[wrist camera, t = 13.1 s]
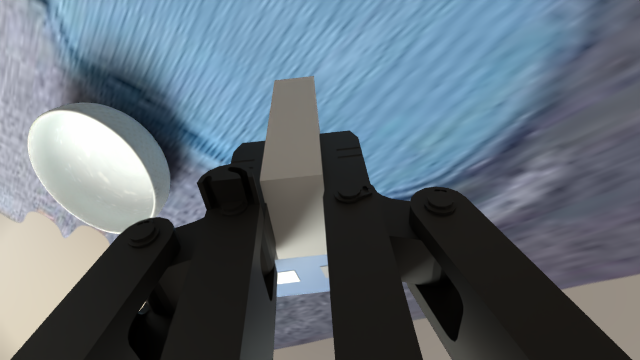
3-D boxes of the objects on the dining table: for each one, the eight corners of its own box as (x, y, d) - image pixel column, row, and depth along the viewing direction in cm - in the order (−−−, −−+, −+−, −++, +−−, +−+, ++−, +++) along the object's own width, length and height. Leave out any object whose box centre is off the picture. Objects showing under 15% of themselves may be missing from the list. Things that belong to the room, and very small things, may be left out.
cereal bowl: (176, 222, 54) (144, 255, 48) (74, 169, 53) (30, 196, 48) (199, 130, 44) (164, 157, 38) (75, 64, 44) (20, 82, 38)
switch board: (329, 177, 43) (326, 185, 41) (376, 277, 49) (374, 286, 48) (223, 205, 49) (217, 212, 48) (276, 289, 56) (272, 297, 54)
